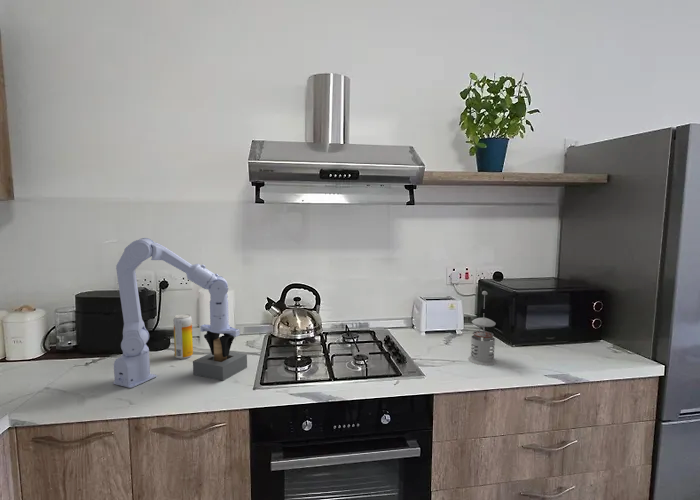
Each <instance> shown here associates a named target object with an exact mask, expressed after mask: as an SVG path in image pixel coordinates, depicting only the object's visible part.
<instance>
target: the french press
mask: <svg viewBox="0 0 700 500" xmlns="http://www.w3.org/2000/svg"><path fill="white" fill-rule="evenodd" d="M481 295H483V308H485V307H486V306H485V302H486V296H487V295H488V292H487V291H486V290H483V291H481ZM471 323H472V324H473V325H475V326H477V327H478V330H475V331H474V330H473V332H472V335H471V339H470V341H471V343H470V344H471V345H470V346H471V347H470V356H469V357H468V358H467V360H468V361H469V362H470V363H472V364H475V365H478V366H479V365H480V366H493V365H496V364H497V360H496V359H495V345H496V344H495V343H496V341H495V339H496V338H495V337H494V336H495V334H494V333H493V332H490V331H486V330H485V328H491V327H495V326H496V322H495V321H494V320H492V319H490V318H487V317H485V314H483V317H477V318H474V319H473V320H471ZM481 328H482V330H481Z"/></svg>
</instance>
